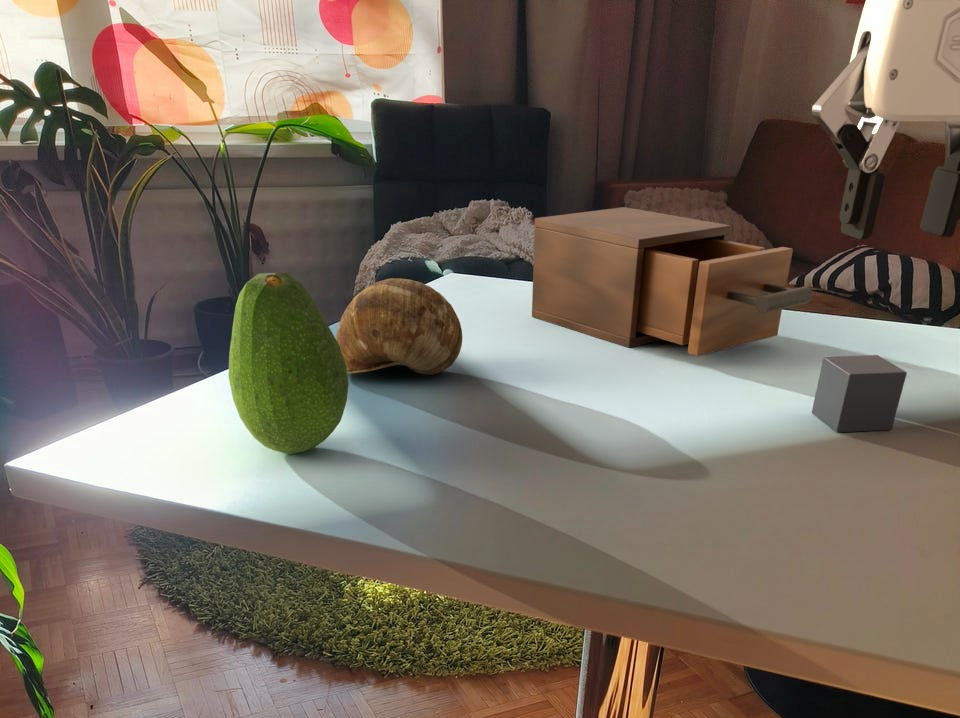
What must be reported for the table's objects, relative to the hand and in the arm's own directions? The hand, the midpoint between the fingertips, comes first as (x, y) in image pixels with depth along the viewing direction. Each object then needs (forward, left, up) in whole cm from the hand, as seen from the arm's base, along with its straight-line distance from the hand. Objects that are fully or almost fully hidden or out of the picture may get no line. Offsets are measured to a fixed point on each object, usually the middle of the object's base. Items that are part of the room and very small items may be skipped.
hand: (896, 232), depth 61 cm
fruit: (+42, +1, -14) cm, 44 cm away
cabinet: (+10, -31, -13) cm, 35 cm away
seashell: (+34, -16, -14) cm, 40 cm away
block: (0, 0, -13) cm, 13 cm away
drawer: (+5, -22, -13) cm, 25 cm away
